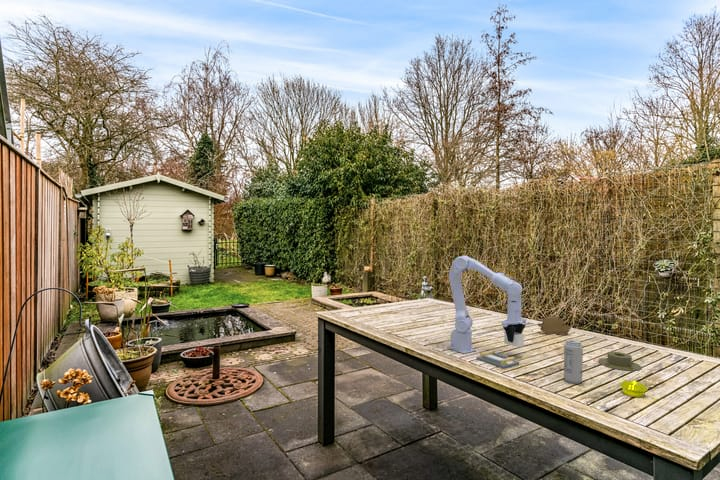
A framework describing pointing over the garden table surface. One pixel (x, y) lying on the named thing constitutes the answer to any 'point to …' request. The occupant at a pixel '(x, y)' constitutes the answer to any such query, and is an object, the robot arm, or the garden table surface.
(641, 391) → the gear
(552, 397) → the garden table surface
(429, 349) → the garden table surface
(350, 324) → the garden table surface
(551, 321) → the wooden carving
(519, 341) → the block
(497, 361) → the rail base
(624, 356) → the flange
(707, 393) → the garden table surface
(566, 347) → the energy drink can
